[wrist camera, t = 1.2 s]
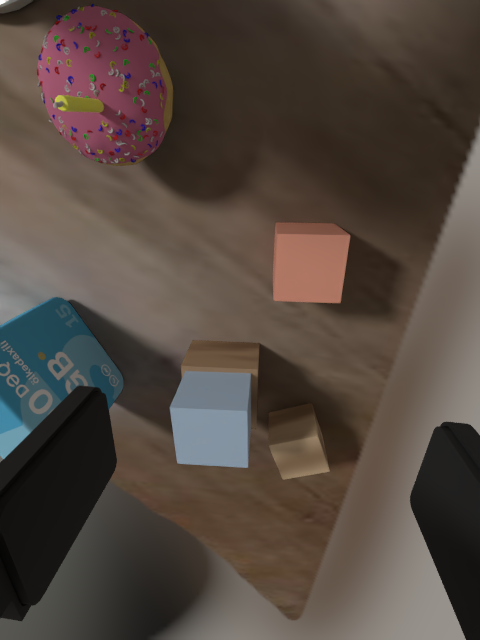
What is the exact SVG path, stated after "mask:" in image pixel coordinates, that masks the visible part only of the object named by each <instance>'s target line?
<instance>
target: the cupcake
mask: <svg viewBox="0 0 480 640" xmlns="http://www.w3.org/2000/svg"><path fill="white" fill-rule="evenodd" d="M58 17H59V19H58ZM60 17H61V18H60ZM56 18H57V20H58V21H57V22H56V23H55V24H54V26H53V27H52V28H51V29H50V31H49V32H48V34H46V35H45V37H44V39H45V40H44V41H43V42H44V43H43V46H42V49H41V54H40V55H39V62H38V67H37V75H38V77H39V83H38V87H39V86H41V93H42V94H41V99H42V100H43V101H44V103H45V105H46V108H47V110H48V113H49V115H50V117H51V119H49V121H50V122H52V121H53V122H52V123H54V125H55V126H56V128H57V130H58V131H59V132H60V134H61V135H62V136H63V137H64V138H65V139H66V140H67V141H68V142H69V143H70V144H71V145H72V146H73V147H74V148H75V149H77V150H78V151H79V152H80V154H81V155H82V154H83V155H84V156H86V157H87V158H89V159H92V160H94V161H97V162H100V163H104V164H107V165H113V166H126V165H134V164H137V163H139V162H140V161H142V160H143V159H145V158H146V157H147V156H149V155H150V154H152V153H153V152H154V151H156V150H157V148H158V147H159V146H160V144H161V143H162V141H163V139H164V136H165V133H166V131H167V129H168V127H169V124H170V122H171V119H172V105H173V86H172V81H171V78H170V75H169V72H168V70H167V67H166V65H165V63H164V61H163V59H162V57H161V55H160V52H159V50H158V47H157V45H156V43H155V42H154V41H153V40H152V39H151V38H150V37H149V36H148V34H147V33H145V31H144V30H143V29H142V28H141V27H140V26H139V25H138V24H136V23H135V22H134V21H132V20H131V19H129V18H128V17H127V16H125V15H124V14H122V13H119V12H118V10H109V9H106V8H103V7H99V6H94V4H92V6H86V7H81V8H80V6H79V7H78V9H76V10H75V9H73V10H72V11H70V12H69V13H68V14H66V15H64V16H63V17H62V16H60V15H58V16H56ZM51 120H52V121H51Z"/></svg>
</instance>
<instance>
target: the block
mask: <svg viewBox="0 0 480 640" xmlns="http://www.w3.org/2000/svg"><path fill="white" fill-rule="evenodd" d="M269 448H270V450H271V452H272V455H273V457H274V460H275V462H276V464H277V467H278V469H279V471H280V474H281V476H282V479H289V478H295V477H300V476H306V475H312V474H318V473H324V472H330V470H329V465H328V460H327V455H326V450H325V446H324V441H323V436H322V433H321V430H320V427H319V424H318V421H317V418H316V415H315V411H314V408H313V405H312V403H309V404H304V405H300V406H295V407H291V408H286V409H282V410H277V411H273V412H269Z"/></svg>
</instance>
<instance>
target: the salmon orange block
mask: <svg viewBox="0 0 480 640" xmlns="http://www.w3.org/2000/svg"><path fill="white" fill-rule="evenodd" d="M349 242H350V235H349V234H348V233H347V232H345V231H344V230H343V229H341V228H340V227H338V226H337V225H336V224H334V223H277V222H276V226H275V246H274V266H273V297H274V301H291V302H320V303H341V296H342V289H343V282H344V276H345V269H346V262H347V255H348V248H349Z"/></svg>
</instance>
